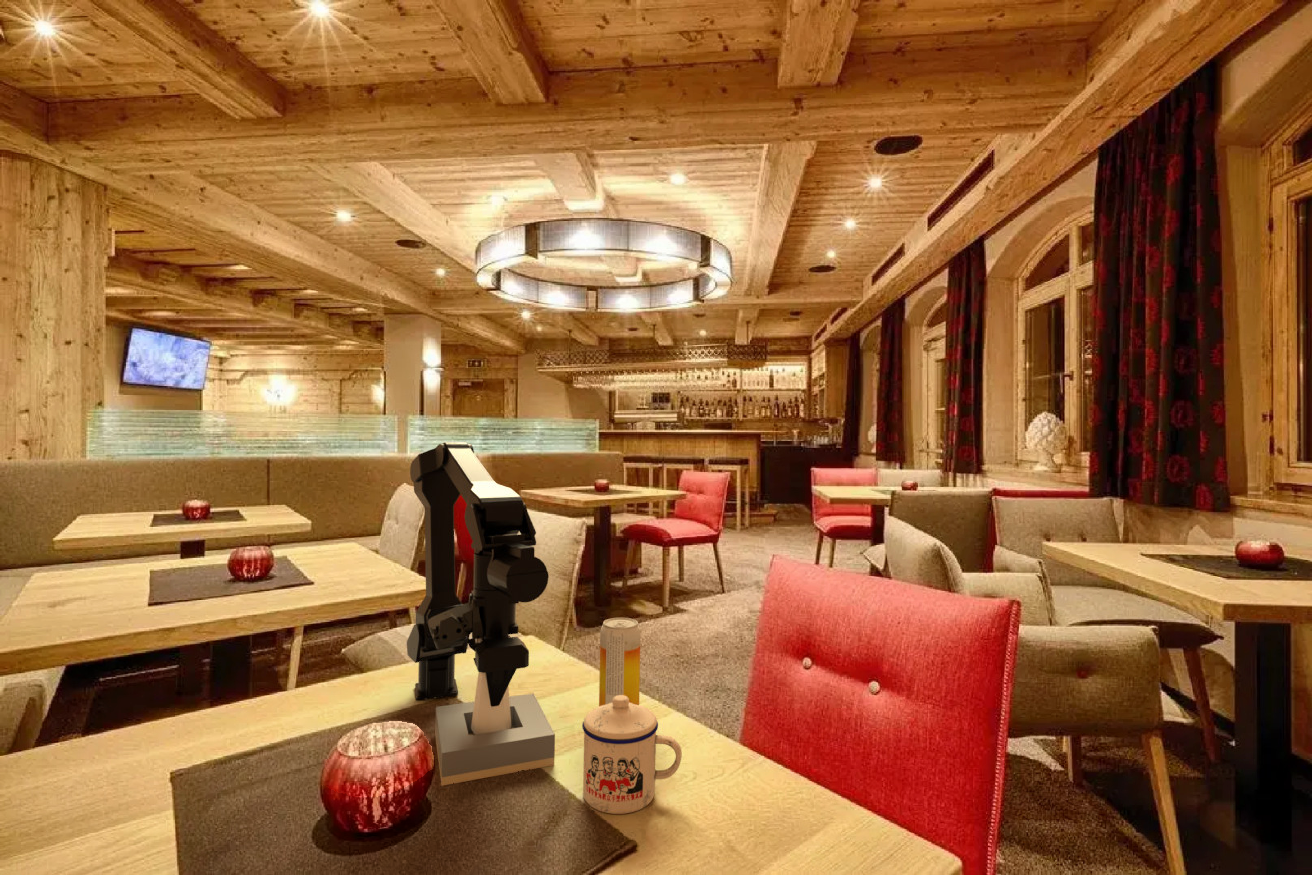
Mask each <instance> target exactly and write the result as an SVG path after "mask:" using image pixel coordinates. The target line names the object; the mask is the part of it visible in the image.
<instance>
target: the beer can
mask: <svg viewBox="0 0 1312 875" xmlns="http://www.w3.org/2000/svg"><path fill="white" fill-rule="evenodd" d="M641 631H642V630H641V628H640V626H639V622H638V621H637V620H636V619H635V618H629V617H612V618H608V619H605V620H604V621H603V623H602V626H601V628H600V632H599V635H600V636H599V679H598V680H599V681H598V684H599V687H598V689H599V690H598V691H599V692H598V707H599V706H602V705H606V704H609V703H612V700H613V698H614V697H615V696H617V695H624V696H627V697H628V699H629V702H630V703H632V704H635V705H639V706H640V687H641V684H640V680H641V668H640V667H641Z"/></svg>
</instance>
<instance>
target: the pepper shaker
mask: <svg viewBox="0 0 1312 875" xmlns="http://www.w3.org/2000/svg"><path fill="white" fill-rule="evenodd" d="M476 680H477V681H476V686H475V687H476V689H475V696H474V701H473V702H474V709H473V716H472V724H471V729H472V731H473V733H474V734H475V735H476V734H482V733H488V732H495V731H501V730H507V729H510V727H511V713H510V700H509V697H510V691H509V690H510V689H509V686H508V687H507V690H506V692H505V694H504V696H503V698H502V700H501V702H500V705H499V706H494V707H492V706H491V705H490V699H489V693H488V687H487V681H486V675H485V673H482V672H478V676H477V679H476Z"/></svg>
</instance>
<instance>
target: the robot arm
mask: <svg viewBox="0 0 1312 875" xmlns="http://www.w3.org/2000/svg"><path fill="white" fill-rule="evenodd" d="M474 450H475V449H474V446H473V445H472V444H470V443H467V442H442V443H439V444H438V445H437V446H435V447H434V448H432V449H429V450H426V451H423V452H421V453H419V454H418V455H417V456H415V458H414V459H413V460H412V461H411V463H410V469H409V474H410V480H411V482H413V491H414V492H413V493H414V494H415V496H416V497H417V499H418V500H419V502H420V503H421V504H422V506H423V508H424V550H425V551H424V553H425V554H424V555H425V557H424V558H425V561H424V562H425V566H424V567H425V596H424V598H423V600H422V601H421V603H420V605H419V607H418V608H417V609H416V612H415V623H414V625H413V626H412V629H411V631H410V633H409V636H408V638H407V640H406V650H407V653H406V654H407V656H408V657H409V659H411V660H412V661H413V662H414V663H415V664H416V663H418V673H417V674H418V676H417V678H418V680H417V681H418V682H415V684H414V689H415V700H416V701H423V700H430V699H432V700H433V699H437V698H439V699H440V698H444V697H445V698H446V697H453V696H457V695H459V689H458V684H457V680H456V679H455V666H456V663H455V662H456V661H455V660H456V655H460V654H466V653H467V650H468V646H469V647H470V649H472V650H473V651H474V653H475V654H474V657H473V662H474V664H475V667H476V670H477V672H478V673H479V672H482V673H485V675H486V681H487V687H488V693H489V699H490V705H491V706H492V707H494V706H499V705H500V702H501V700H502V698H503V696H504V694H505V692H506V690H507V687H509V686H510V684H511V681H512V679H513V677H514V675H515V673H516V672H517V670H518V669H525V668H528V667H529V664H530V663H529V662H530V661H529V660H530V650H529V649H528V647H527V645H526V644H525V642H524V641H522V639H520V638H519V636H512V637H511V635H518V634H519V625H518V624H517V622H516V620H517V619H516V617H517V616H516V615H517V614H516V613H517V604H519V603H531V602H533V601H535V600H537V599H538V598H539V597H540V596H541V595H543V593H544V592H545V590H546V588H547V586H548V582H549V571H548V568H547V566H546V564H545V562H544V561H543V560H542V559H540V558H538V557H536V556H535V553H536V552H535V551H536V550H535V546H537V540H536V539H537V538H536V534H537V531H536V529H535V526H534V524H533V520H532V519H531V516H530V514H529V512H528V508H527V505H526V503H525V502H524V500H523V499H522V497H521V496H520V495H519V494H518V493H517V492H516V491H515V490H513V489H512V488H511V487H508V486H505V485H502V484H499V483H497V482H496V481H495V480H494V479H493V477H492V476H491V474H490V473H489V472H488V471H487V469H486V468H485V467H484V465H483V464H482V463H481V461H480V459H479V458H478V457H477V456H476V454H475V451H474ZM460 496H461V497H462V499H463V500H464V502H465V504H466V507H465V510H464V511H465V512H464V522H465V526H466V529H467V531H468V534H469V535H470V538H471V540H472V542H471V546H470V547H471V548H472V549H473V581H472V582H473V583H472V584H473V587H472V589H473V590H471V593H469V594H468V602H466V603H462V601H461V600H460V598H459V597H458V595H457V594H456V592H457V591H456V559H455V558H456V554H455V552H456V549H455V548H456V547H455V510H454V509H455V505H456V503H457V501H458V499H459V498H460ZM470 635H471V638H470Z"/></svg>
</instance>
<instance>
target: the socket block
mask: <svg viewBox="0 0 1312 875" xmlns="http://www.w3.org/2000/svg"><path fill="white" fill-rule="evenodd" d="M509 700H510V713H511V727H510V729H507V730H501V731H495V732H488V733H482V734H476V735H475V734H474V733H473V731H472V729H471V724H472V716H473V709H474V702H475V701H468V702H461V703H455V704H447V705H446V704H445V705H441V706H440V705H439V706H435V729H434V732H435V733H434V735H435V737H434V738H435V743H436V752H437V760H438V768H439V776H440V778H439V779H440V785H441V786H442V787H443V786H447V785H448V786H449V785H453V783H454V784H459V783H464V782H469V781H475V780H480V779H485V778H490V777H491V778H492V777H497V776H502V775H508V774H513V773H517V772H518V771H519V772H522V771H521V770H524V771H529V769H530V770H535V769H540V768H545V767H550V766H555V759H556V758H555V755H556V752H555V751H556V750H555V749H556V747H555V744H556V734H555V732H554V730H553V728H552V726H551V724H550V722H549V720H548V718H547V717H546V714H545V713H544V710H543V709H542V707H541V705H540V703H539V701H538V699H537V697H536V695H535V693H534V692H533V693H528V694H527V693H526V694H520V695H512V696H509Z"/></svg>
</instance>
